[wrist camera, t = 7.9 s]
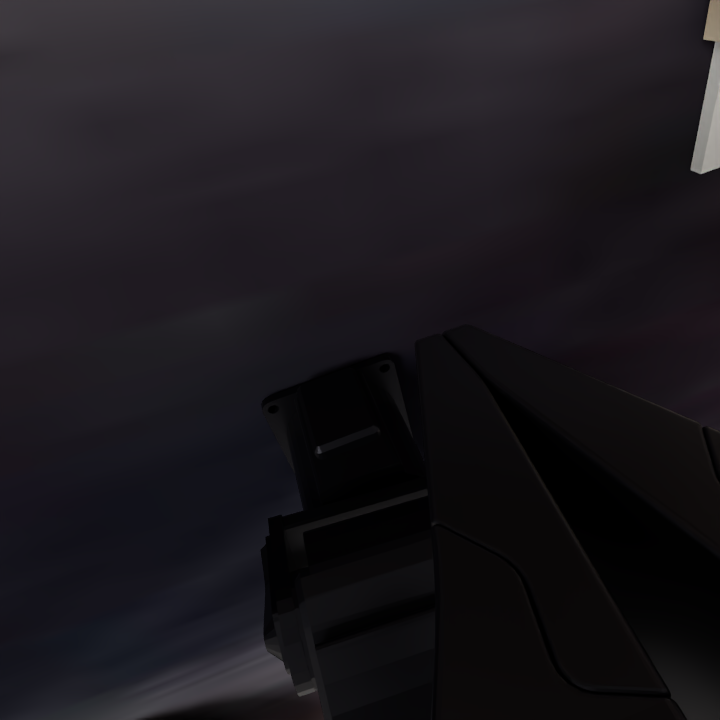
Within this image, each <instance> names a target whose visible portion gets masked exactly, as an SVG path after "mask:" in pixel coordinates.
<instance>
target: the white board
mask: <svg viewBox="0 0 720 720" xmlns="http://www.w3.org/2000/svg"><path fill="white" fill-rule="evenodd" d="M719 167H720V42H717V41H715V45H714V51H713V56H712V61H711V66H710V71H709V76H708V82H707V87H706V92H705V97H704V102H703V107H702V113H701V118H700V123H699V128H698V133H697V138H696V144H695V149H694V154H693V159H692V164H691V169H690V170H692V171H694V172H697V173H699V174H703V173H706V172H708V171H711V170H714V169H717V168H719Z"/></svg>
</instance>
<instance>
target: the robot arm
mask: <svg viewBox="0 0 720 720" xmlns="http://www.w3.org/2000/svg"><path fill="white" fill-rule="evenodd" d="M415 355H416V366H417V377H418V388H419V399H420V410H421V422H422V433H423V444H424V455H425V462H424V460H423V458H422V456H421V454H420V452H419V450H418V448H417V446H416V444H415V442H414V440H413V436H412V432H411V428H410V424H409V420H408V416H407V412H406V408H405V404H404V400H403V396H402V392H401V388H400V384H399V380H398V376H397V372H396V368H395V365H394V363H393V361H392V359H391V357H390V356H388V355H380V356H377V357H375V358H372V359H369V360H366V361H364V362H361V363H358V364H356V365H353V366H350V367H347V368H345V369H342V370H339V371H337V372H334V373H331V374H328V375H326V376H323V377H320V378H317V379H315V380H312V381H309V382H307V383H304V384H301V385H298V386H296V387H293V388H290V389H288V390H285V391H282V392H279V393H277V394H274V395H271V396H269V397H267V398H265V399H264V400H263V401H262V404H261V405H262V410H263V414H264V416H265V418H266V420H267V422H268V423H269V425H270V427H271V429H272V431H273V433H274V435H275V437H276V439H277V441H278V443H279V444H280V446H281V448H282V450H283V452H284V454H285V456H286V458H287V460H288V462H289V464H290V465H291V467H292V469H293V471H294V473H295V475H296V480H297V484H298V489H299V493H300V497H301V502H302V506H303V511H301V512H297V513H294V514H290V515H287V516H283V517H282V515H278V516H275V517H271V518H268V523H269V533H270V536H267V537H266V545H265V546H264V547H263V548H262V549H261V557H262V564H263V571H264V579H265V610H264V641H265V646H266V649H267V651H268V652H270V653H271V654H273V655H274V656H276V657H277V658H279V659H280V660H282V661H283V662H284V665H285V669H286V671H287V673H288V674H291V676H292V680H293V683H294V686H295V689H296V692H297V694H298V695H299V697H300V696H303V695H306V694H309V693H312V692H315V691H316V690H318V693H319V698H320V702H321V706H322V711H323V715H324V719H325V720H720V431H718V430H715V429H713V428H711V427H708V426H706V427H703V428H702V426H701V424H700V423H698V422H696V421H694V420H691V419H689V418H687V417H684V416H682V415H680V414H677V413H675V412H673V411H670V410H668V409H666V408H663V407H661V406H659V405H656V404H654V403H652V402H649V401H647V400H645V399H642V398H640V397H638V396H635V395H633V394H631V393H628V392H626V391H624V390H621V389H619V388H617V387H614V386H612V385H610V384H607V383H605V382H603V381H600V380H598V379H596V378H593V377H591V376H589V375H586V374H584V373H582V372H579V371H577V370H575V369H572V368H570V367H568V366H565V365H563V364H561V363H558V362H556V361H554V360H551V359H549V358H546V357H544V356H542V355H539V354H537V353H535V352H532V351H530V350H528V349H525V348H523V347H521V346H518V345H516V344H514V343H511V342H509V341H507V340H504V339H502V338H500V337H497V336H495V335H493V334H490V333H488V332H486V331H483V330H481V329H479V328H476V327H474V326H472V325H467V324H466V325H462V326H459V327H456V328H453V329H450V330H447V331H445V332H444V333H443V334H442V335H441V334H434V335H431V336H428V337H425V338H422V339H419V340H417V341H416V342H415ZM383 364H386V366H384V367H381V366H382V365H383ZM380 367H381V368H380ZM273 405H276V407H274V408H269V407H270V406H273Z"/></svg>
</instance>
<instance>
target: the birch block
mask: <svg viewBox="0 0 720 720" xmlns="http://www.w3.org/2000/svg"><path fill="white" fill-rule="evenodd" d="M703 39H704V40H710V41H717V42H720V0H710V5H709V10H708V16H707V21H706V27H705V32H704V38H703Z"/></svg>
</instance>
